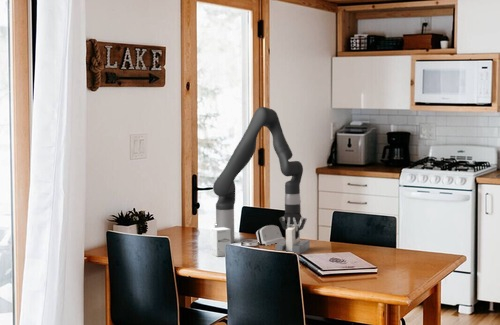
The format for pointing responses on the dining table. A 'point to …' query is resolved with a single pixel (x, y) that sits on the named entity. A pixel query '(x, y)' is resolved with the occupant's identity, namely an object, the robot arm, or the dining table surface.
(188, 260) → the dining table surface
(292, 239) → the door panel
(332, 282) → the dining table surface
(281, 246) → the door track
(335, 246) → the dining table surface
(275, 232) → the hinge
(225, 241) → the supplement box
